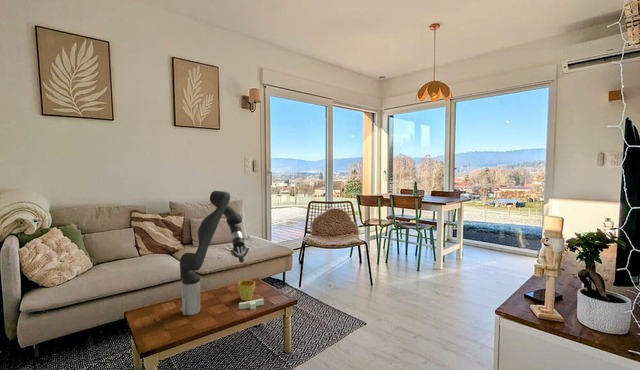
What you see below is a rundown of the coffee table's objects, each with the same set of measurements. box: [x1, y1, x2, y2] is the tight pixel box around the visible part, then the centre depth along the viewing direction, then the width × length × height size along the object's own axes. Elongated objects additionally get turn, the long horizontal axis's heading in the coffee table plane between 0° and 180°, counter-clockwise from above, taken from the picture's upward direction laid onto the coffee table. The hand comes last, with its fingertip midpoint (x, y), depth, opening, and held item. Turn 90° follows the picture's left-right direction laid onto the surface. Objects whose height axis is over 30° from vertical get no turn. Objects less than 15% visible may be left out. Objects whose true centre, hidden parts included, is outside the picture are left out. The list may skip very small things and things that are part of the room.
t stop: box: [238, 298, 265, 310], centre depth 179 cm, size 14×5×3 cm, turn 117°
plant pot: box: [237, 279, 256, 302], centre depth 191 cm, size 10×10×10 cm
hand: (241, 262), depth 201 cm, fingers closed
